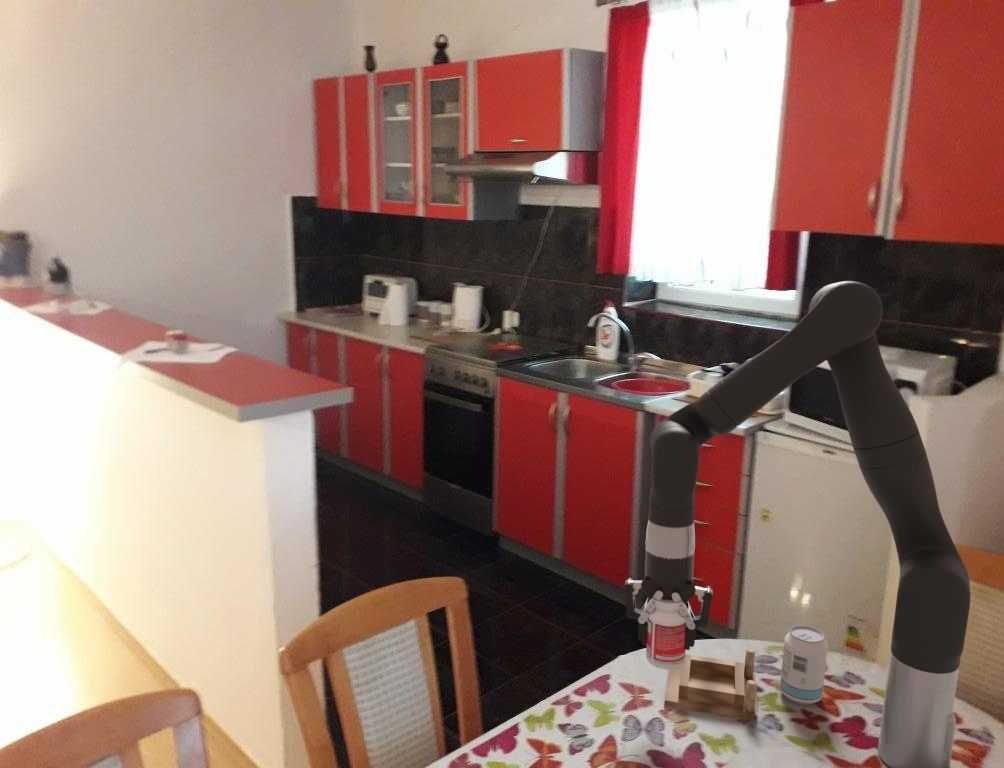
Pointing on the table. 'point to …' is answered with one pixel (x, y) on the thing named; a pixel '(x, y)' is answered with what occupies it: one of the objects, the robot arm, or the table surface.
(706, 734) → the table surface
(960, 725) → the table surface
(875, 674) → the table surface
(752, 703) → the holder
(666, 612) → the pill bottle
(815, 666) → the beverage can
